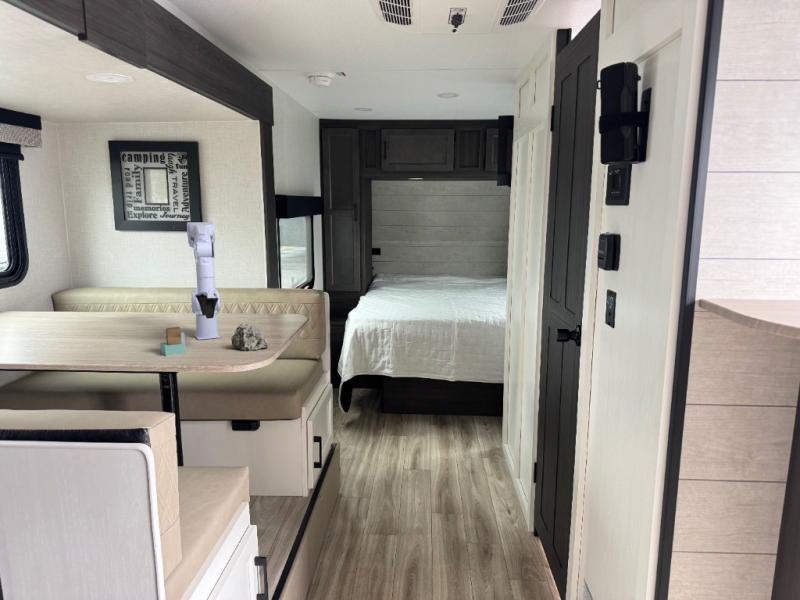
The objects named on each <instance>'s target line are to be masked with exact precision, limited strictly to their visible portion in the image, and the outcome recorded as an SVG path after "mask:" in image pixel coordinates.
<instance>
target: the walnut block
mask: <svg viewBox="0 0 800 600" xmlns="http://www.w3.org/2000/svg"><path fill="white" fill-rule="evenodd" d="M181 332H182V329H181V328H180V326H170V327H165V336H166V339H165V340H166V342H167V344H168V345H175V344H181Z"/></svg>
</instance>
